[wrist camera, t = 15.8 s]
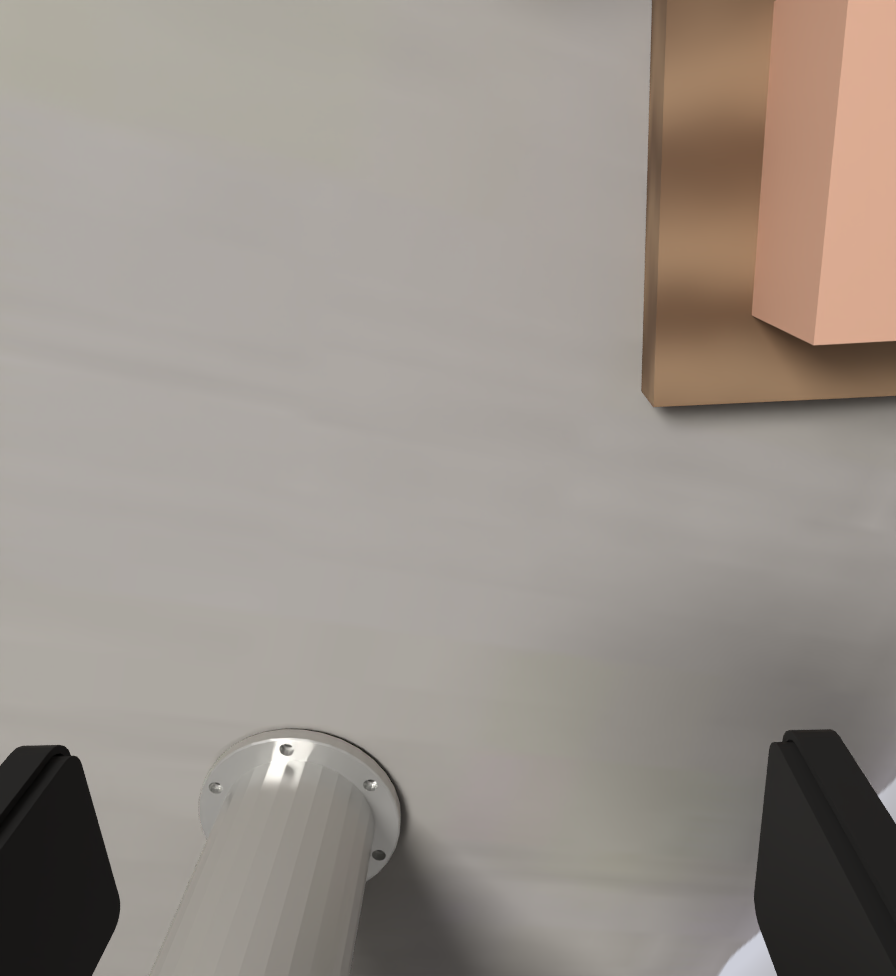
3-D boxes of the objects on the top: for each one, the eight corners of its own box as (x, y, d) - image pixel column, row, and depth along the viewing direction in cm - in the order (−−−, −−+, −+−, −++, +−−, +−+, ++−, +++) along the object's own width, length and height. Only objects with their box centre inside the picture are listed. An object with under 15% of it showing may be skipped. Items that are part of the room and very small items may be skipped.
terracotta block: (894, -9, 30) (1007, -63, 23) (856, 309, 34) (944, 338, 28) (774, 1, 30) (853, -50, 24) (751, 315, 35) (813, 345, 28)
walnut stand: (911, 378, 38) (944, 393, 35) (641, 391, 39) (653, 407, 36) (986, -118, 31) (1036, -148, 28) (654, -89, 32) (670, -115, 29)
